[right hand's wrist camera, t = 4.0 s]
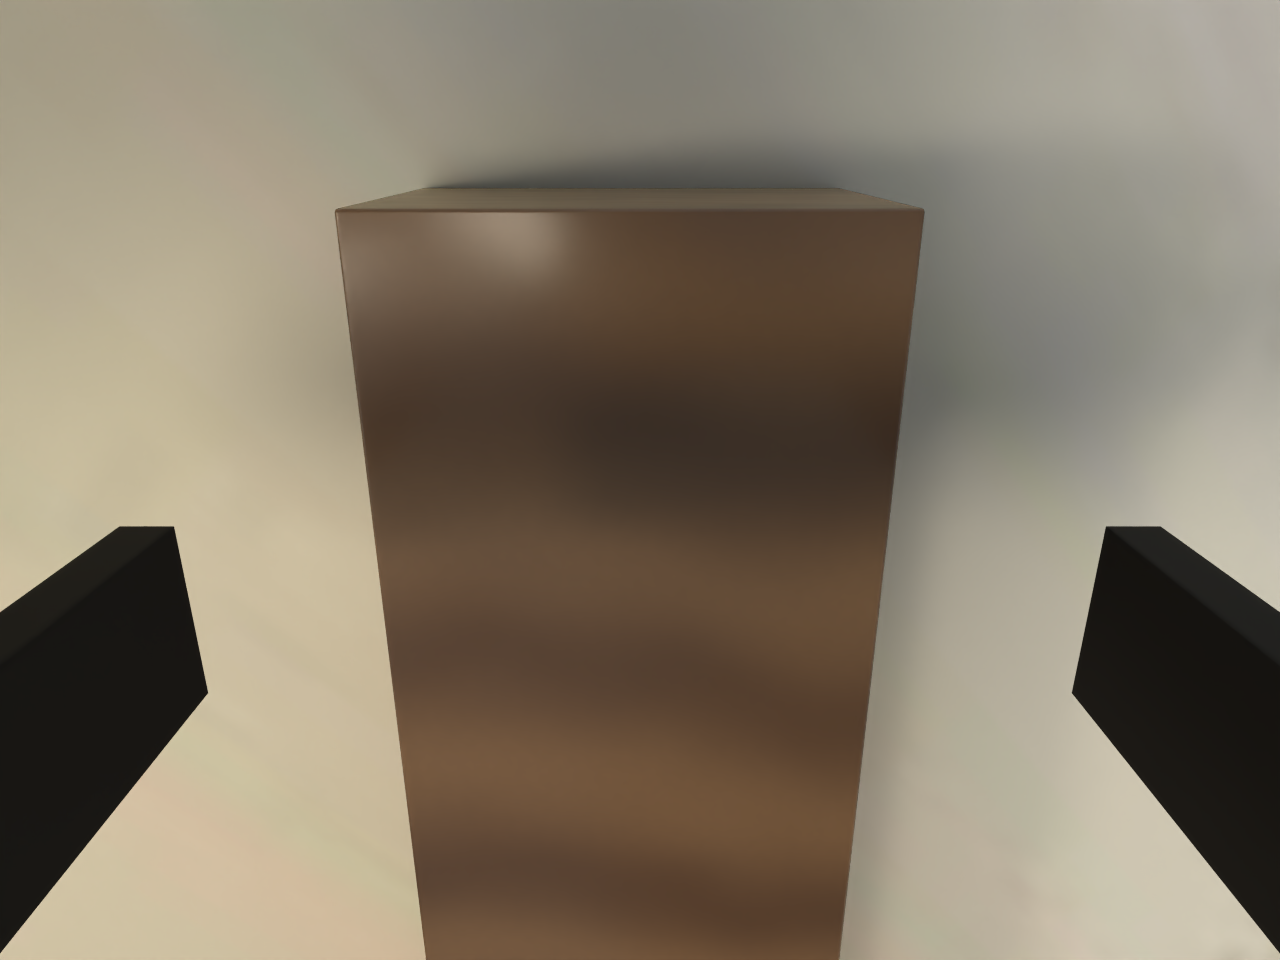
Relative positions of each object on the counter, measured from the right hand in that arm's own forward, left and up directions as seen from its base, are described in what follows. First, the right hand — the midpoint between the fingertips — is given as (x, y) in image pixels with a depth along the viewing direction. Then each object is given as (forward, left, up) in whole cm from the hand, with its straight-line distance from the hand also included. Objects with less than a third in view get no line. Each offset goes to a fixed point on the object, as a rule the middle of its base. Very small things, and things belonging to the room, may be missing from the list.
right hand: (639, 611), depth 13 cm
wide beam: (+3, -32, -11) cm, 34 cm away
